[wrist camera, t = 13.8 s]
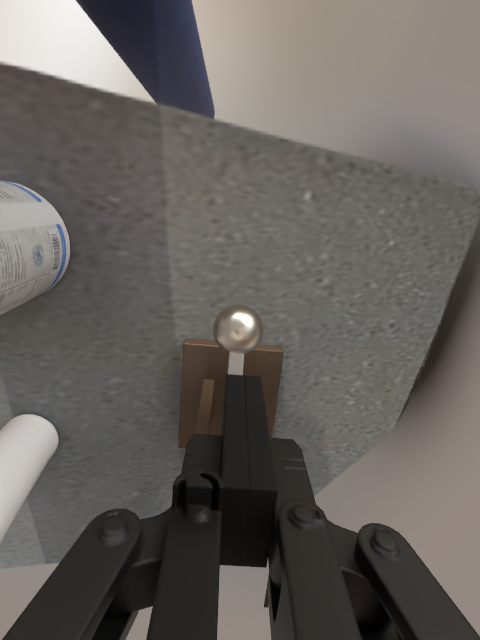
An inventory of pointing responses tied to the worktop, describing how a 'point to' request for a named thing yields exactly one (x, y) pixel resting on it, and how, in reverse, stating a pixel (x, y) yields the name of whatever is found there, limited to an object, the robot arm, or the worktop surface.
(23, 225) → the supplement tub
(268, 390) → the bracket
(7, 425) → the white tapered cylinder
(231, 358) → the tap lever
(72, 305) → the worktop surface
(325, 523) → the robot arm
